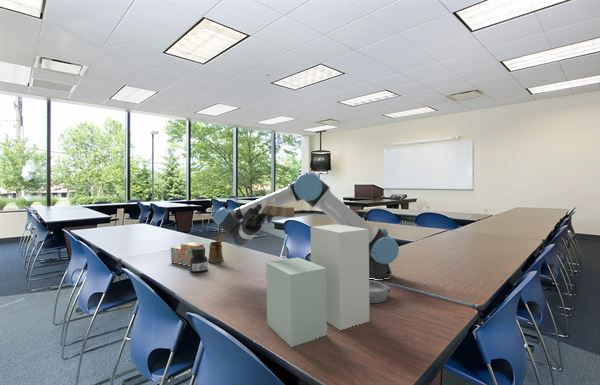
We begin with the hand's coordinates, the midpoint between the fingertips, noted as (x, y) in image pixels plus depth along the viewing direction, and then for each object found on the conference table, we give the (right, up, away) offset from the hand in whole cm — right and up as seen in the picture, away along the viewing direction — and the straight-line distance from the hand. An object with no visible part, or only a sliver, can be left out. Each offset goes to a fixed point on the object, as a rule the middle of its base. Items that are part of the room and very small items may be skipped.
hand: (270, 201), depth 107 cm
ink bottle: (-43, -38, +50) cm, 76 cm away
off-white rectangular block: (+24, -39, -7) cm, 46 cm away
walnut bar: (+2, -4, -3) cm, 5 cm away
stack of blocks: (-54, -38, +65) cm, 93 cm away
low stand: (+10, -39, -15) cm, 43 cm away
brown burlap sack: (-38, -38, +68) cm, 87 cm away
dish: (+39, -38, +10) cm, 56 cm away
